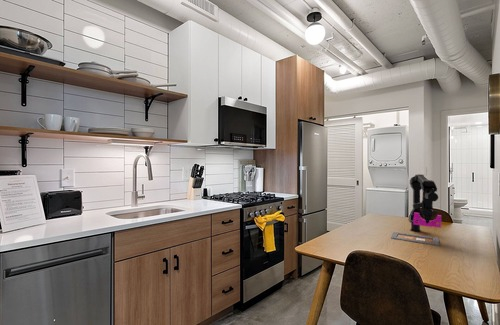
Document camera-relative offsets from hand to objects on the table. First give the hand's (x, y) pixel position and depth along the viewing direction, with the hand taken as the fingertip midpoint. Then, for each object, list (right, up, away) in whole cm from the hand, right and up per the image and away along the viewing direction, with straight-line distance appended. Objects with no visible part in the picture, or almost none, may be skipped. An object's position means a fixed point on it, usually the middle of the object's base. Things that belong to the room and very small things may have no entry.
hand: (427, 222), depth 176 cm
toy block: (0, -2, 0) cm, 2 cm away
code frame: (-7, -12, +3) cm, 14 cm away
